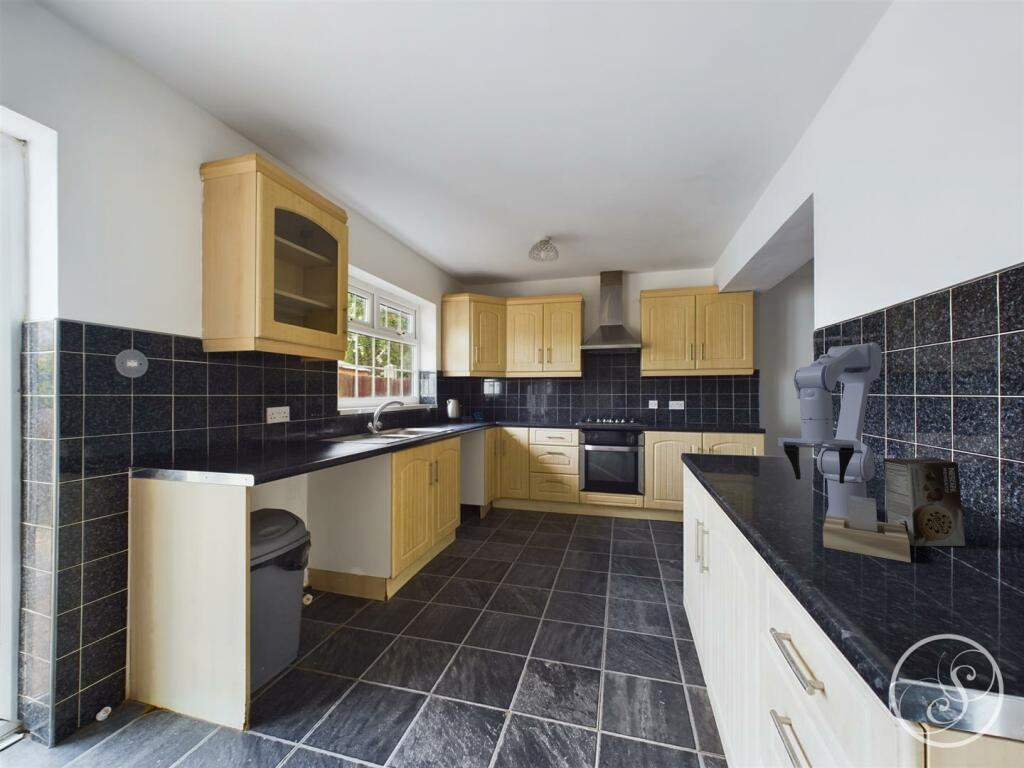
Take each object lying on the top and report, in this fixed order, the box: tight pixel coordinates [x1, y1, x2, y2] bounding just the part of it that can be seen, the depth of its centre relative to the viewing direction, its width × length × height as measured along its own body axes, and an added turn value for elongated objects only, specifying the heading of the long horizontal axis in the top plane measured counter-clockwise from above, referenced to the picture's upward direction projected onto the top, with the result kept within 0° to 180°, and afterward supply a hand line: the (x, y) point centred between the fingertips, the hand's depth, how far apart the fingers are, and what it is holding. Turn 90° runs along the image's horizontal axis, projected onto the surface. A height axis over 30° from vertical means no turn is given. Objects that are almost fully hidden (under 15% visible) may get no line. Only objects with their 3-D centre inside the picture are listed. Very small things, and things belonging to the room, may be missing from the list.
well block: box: [822, 515, 912, 563], centre depth 78 cm, size 12×12×4 cm
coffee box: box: [883, 457, 966, 547], centre depth 80 cm, size 9×6×16 cm
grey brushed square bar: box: [848, 496, 878, 533], centre depth 78 cm, size 4×4×9 cm
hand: (819, 480), depth 89 cm, fingers open, 7 cm apart
